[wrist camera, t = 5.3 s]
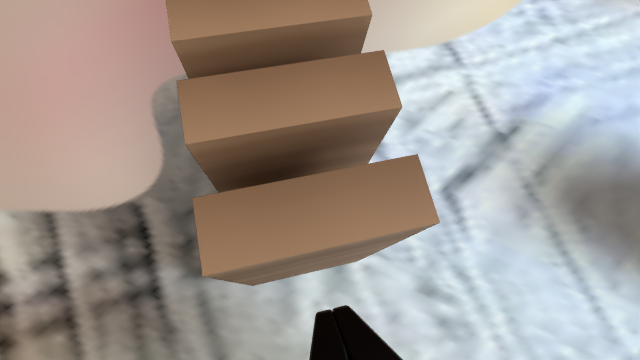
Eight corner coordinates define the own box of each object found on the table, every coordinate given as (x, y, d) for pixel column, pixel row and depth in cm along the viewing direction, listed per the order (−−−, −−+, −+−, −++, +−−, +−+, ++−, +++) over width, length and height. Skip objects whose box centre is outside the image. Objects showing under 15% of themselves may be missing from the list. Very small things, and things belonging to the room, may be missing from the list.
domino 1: (356, 261, 17) (439, 222, 8) (252, 285, 17) (202, 275, 7) (348, 228, 18) (417, 154, 8) (246, 251, 17) (191, 197, 7)
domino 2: (342, 204, 18) (402, 107, 8) (242, 226, 17) (185, 144, 8) (335, 175, 18) (383, 50, 9) (236, 194, 18) (176, 80, 8)
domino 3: (329, 155, 19) (372, 14, 9) (233, 173, 18) (171, 41, 9) (323, 128, 19) (356, -35, 10) (228, 144, 18) (164, -12, 9)
